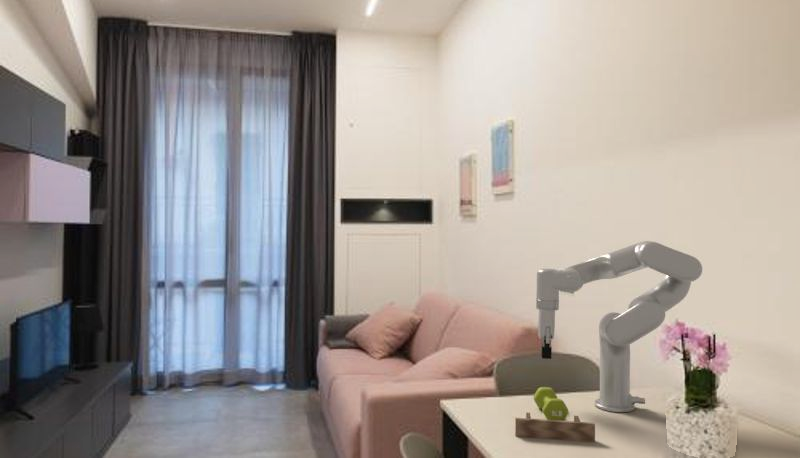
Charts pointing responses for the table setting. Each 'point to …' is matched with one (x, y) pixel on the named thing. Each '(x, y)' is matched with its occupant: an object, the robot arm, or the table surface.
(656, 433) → the table surface
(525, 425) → the walnut bay
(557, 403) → the dumbbell
